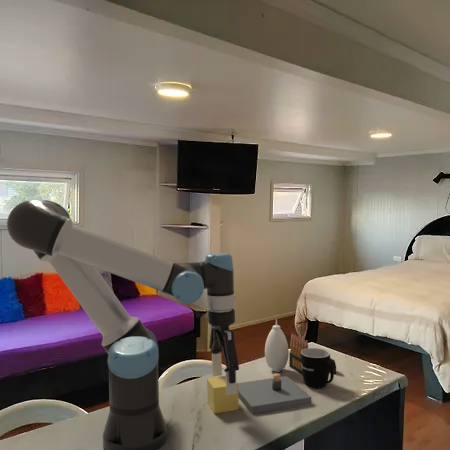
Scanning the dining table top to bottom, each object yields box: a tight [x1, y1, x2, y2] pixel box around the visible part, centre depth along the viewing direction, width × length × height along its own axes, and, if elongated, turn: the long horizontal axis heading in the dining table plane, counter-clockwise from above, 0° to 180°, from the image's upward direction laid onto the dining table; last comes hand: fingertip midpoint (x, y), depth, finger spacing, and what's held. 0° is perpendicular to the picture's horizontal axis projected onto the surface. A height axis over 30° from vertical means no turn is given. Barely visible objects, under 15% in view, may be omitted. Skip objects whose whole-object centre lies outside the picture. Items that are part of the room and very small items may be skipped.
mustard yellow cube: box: [206, 375, 239, 414], centre depth 121 cm, size 7×7×7 cm
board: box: [236, 373, 312, 415], centre depth 126 cm, size 18×16×6 cm
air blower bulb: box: [264, 317, 290, 373], centre depth 146 cm, size 8×8×18 cm
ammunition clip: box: [288, 332, 309, 376], centre depth 146 cm, size 11×2×12 cm, turn 22°
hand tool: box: [329, 357, 337, 375], centre depth 151 cm, size 19×4×5 cm, turn 23°
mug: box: [301, 347, 335, 390], centre depth 133 cm, size 12×9×10 cm
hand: (224, 384), depth 121 cm, fingers open, 13 cm apart
